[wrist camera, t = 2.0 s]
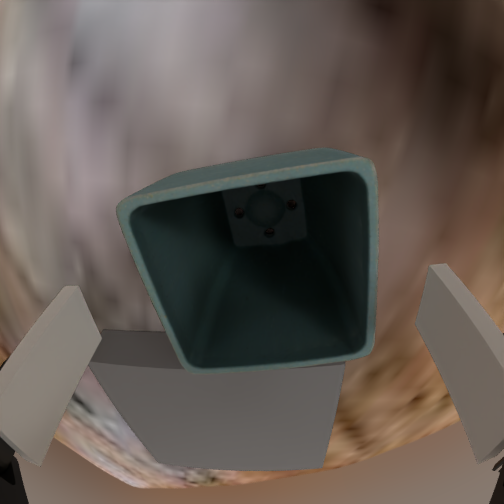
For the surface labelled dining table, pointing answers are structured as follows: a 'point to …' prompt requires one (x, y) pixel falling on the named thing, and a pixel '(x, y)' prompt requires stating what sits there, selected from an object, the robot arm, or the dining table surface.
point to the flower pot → (261, 260)
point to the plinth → (218, 407)
